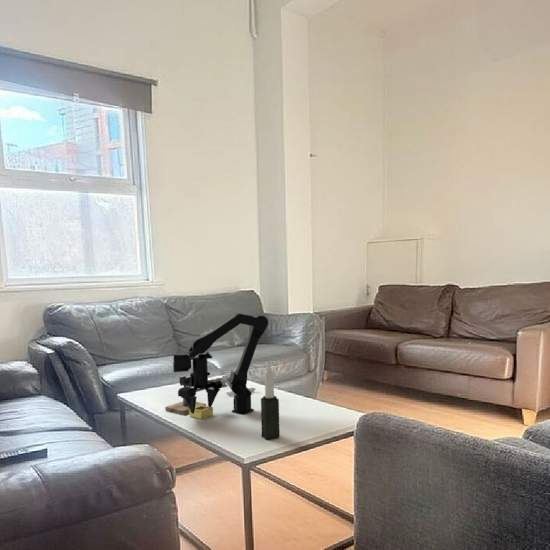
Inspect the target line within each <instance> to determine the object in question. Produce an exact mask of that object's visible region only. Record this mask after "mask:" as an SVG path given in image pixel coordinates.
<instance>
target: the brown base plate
mask: <svg viewBox="0 0 550 550" xmlns="http://www.w3.org/2000/svg"><path fill="white" fill-rule="evenodd" d="M199 405H204V406H207V404H206V403H204V402H198V401H196V405H195V407H196V406H199ZM164 408H165V410H166V411H167V412H169V411H170V413H173V412H174V413H175V414H178V413H179V414H178V415H182V414H183V415H182V416H186V415H189V414H188V413H189V409H190V408H189V406H188V403H187V401H186V400H185V399H184V398H182V401H180V402H177V403H174V404H169V405H167V406H165V407H164ZM174 413H173V414H174ZM185 414H186V415H185Z"/></svg>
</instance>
